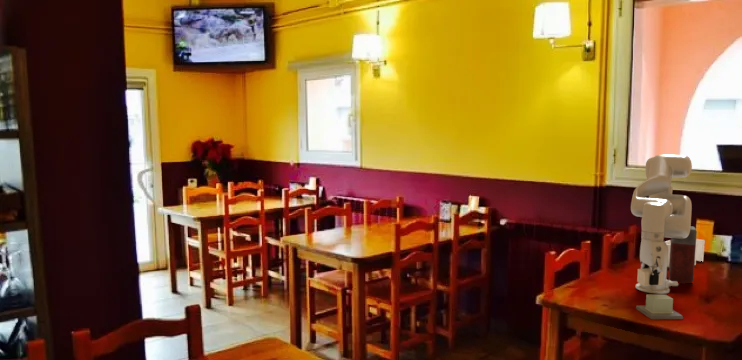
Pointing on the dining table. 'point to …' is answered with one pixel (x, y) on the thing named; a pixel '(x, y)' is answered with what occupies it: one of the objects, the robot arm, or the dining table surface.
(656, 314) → the baseplate
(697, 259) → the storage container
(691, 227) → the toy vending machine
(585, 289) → the dining table surface
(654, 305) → the sage brick
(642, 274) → the cream brick
